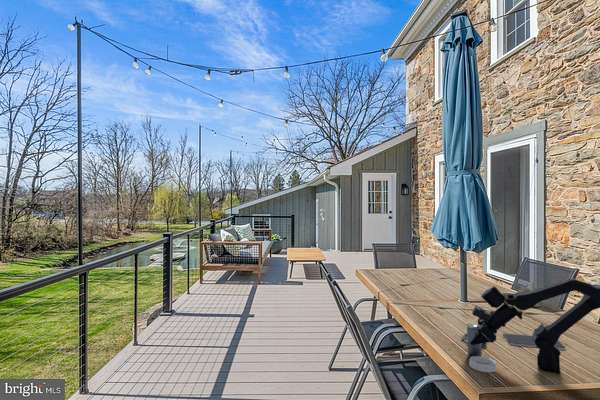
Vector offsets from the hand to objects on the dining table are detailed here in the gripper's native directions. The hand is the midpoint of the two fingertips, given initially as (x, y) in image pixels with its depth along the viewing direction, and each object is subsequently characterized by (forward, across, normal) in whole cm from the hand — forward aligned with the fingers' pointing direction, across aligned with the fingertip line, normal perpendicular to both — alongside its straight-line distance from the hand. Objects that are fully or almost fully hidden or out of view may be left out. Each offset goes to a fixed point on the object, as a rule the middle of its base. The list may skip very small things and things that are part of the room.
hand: (471, 340), depth 145 cm
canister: (+4, 0, +6) cm, 7 cm away
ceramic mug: (+4, -20, +6) cm, 21 cm away
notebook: (-13, -30, +23) cm, 40 cm away
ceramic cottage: (-16, -106, +26) cm, 111 cm away
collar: (+2, +8, +8) cm, 12 cm away
